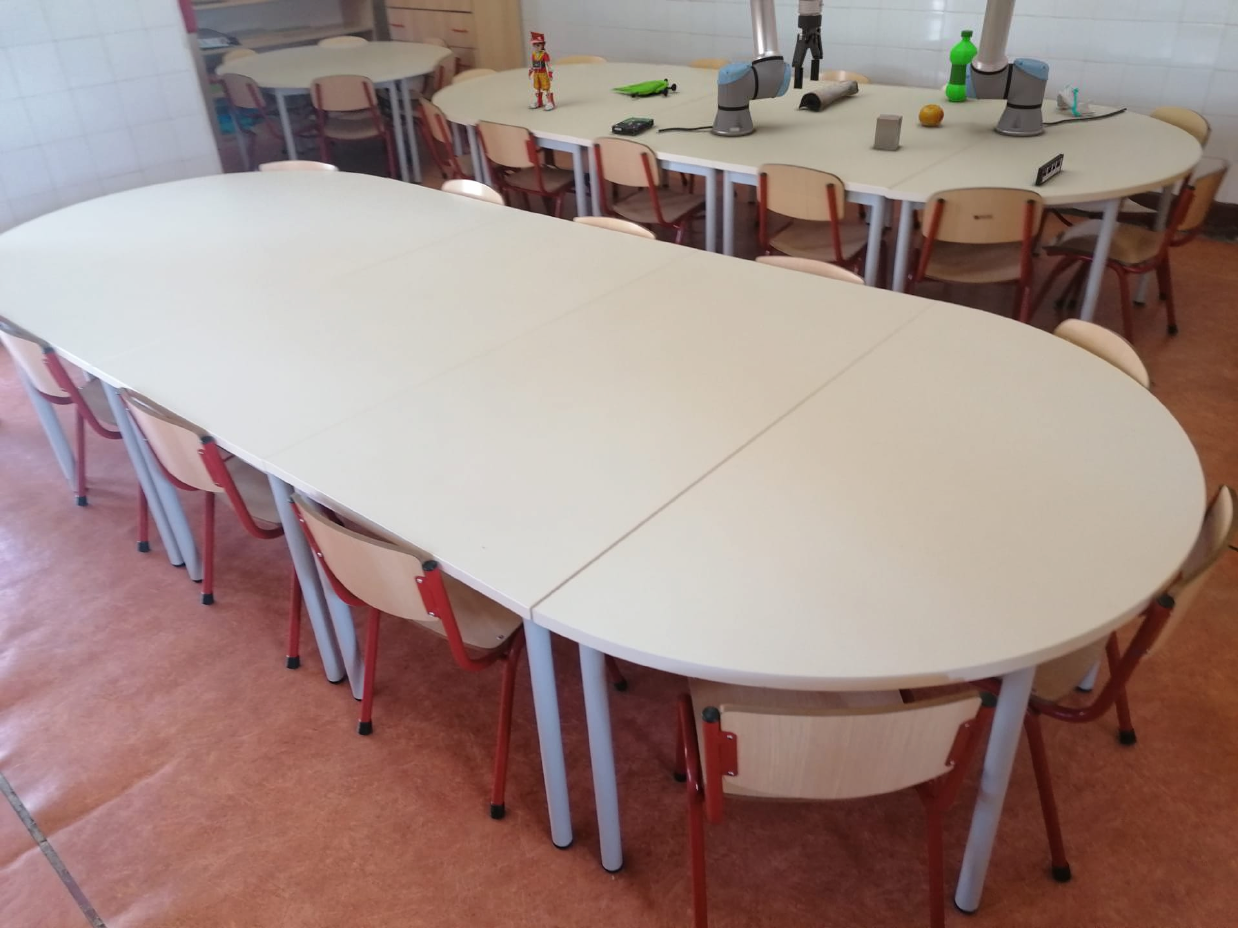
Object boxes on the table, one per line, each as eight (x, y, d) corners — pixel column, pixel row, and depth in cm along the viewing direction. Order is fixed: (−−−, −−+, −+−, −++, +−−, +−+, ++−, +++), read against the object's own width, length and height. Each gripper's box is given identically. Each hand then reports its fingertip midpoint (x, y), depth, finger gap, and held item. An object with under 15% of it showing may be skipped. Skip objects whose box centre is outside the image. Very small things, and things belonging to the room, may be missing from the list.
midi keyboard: (1039, 185, 269) (1043, 168, 266) (1035, 184, 270) (1038, 168, 267) (1060, 170, 279) (1064, 154, 277) (1056, 169, 280) (1060, 153, 277)
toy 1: (525, 109, 381) (517, 32, 364) (534, 104, 388) (527, 28, 371) (550, 110, 377) (543, 32, 360) (559, 105, 384) (553, 28, 367)
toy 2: (686, 85, 398) (631, 84, 414) (685, 72, 395) (629, 72, 411) (651, 104, 381) (596, 103, 397) (650, 92, 378) (594, 91, 394)
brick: (873, 148, 309) (877, 118, 304) (878, 144, 313) (881, 114, 307) (894, 150, 306) (898, 120, 300) (898, 146, 310) (902, 116, 304)
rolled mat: (834, 85, 375) (850, 69, 367) (846, 103, 376) (863, 88, 367) (794, 103, 358) (811, 87, 350) (807, 122, 358) (824, 107, 350)
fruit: (913, 117, 326) (928, 97, 323) (915, 120, 333) (929, 101, 330) (933, 130, 324) (947, 110, 321) (933, 133, 332) (948, 113, 329)
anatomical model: (1050, 84, 335) (1077, 77, 334) (1049, 112, 341) (1076, 105, 340) (1070, 94, 323) (1098, 86, 322) (1069, 123, 328) (1096, 115, 328)
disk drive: (634, 136, 338) (654, 126, 348) (634, 128, 336) (654, 118, 346) (611, 133, 343) (631, 123, 353) (611, 126, 341) (631, 116, 351)
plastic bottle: (975, 99, 356) (987, 30, 342) (958, 104, 351) (969, 35, 337) (955, 95, 363) (965, 28, 349) (937, 100, 358) (947, 32, 344)
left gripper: (805, 20, 277) (801, 93, 289) (835, 9, 294) (831, 78, 306) (783, 19, 281) (780, 91, 292) (814, 8, 298) (810, 77, 309)
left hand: (806, 84), depth 299 cm, fingers open, 13 cm apart
